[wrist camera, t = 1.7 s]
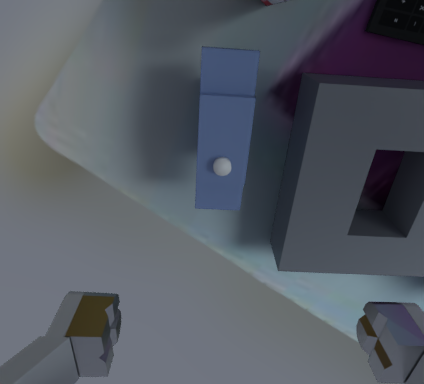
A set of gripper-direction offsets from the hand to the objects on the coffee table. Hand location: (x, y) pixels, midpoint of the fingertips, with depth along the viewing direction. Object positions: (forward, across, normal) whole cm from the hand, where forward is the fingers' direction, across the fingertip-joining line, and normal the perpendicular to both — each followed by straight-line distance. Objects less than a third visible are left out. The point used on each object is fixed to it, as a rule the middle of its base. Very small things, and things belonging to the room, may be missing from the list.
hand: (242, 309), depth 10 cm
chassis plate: (+22, -16, +5) cm, 28 cm away
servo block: (+23, 0, 0) cm, 23 cm away
